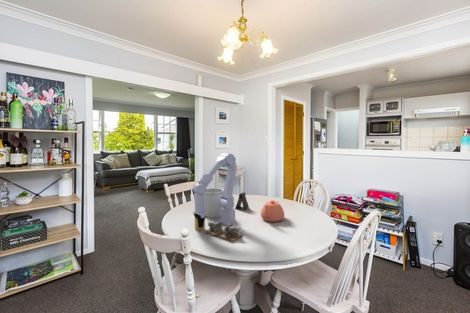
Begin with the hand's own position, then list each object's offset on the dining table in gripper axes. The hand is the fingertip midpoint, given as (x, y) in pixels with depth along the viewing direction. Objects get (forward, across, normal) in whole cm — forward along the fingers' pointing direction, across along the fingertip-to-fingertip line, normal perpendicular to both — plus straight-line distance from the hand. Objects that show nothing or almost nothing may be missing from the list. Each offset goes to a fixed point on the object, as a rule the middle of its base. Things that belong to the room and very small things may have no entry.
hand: (199, 226), depth 138 cm
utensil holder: (+2, -21, +16) cm, 26 cm away
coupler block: (+1, 0, 0) cm, 1 cm away
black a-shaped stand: (+2, -24, +40) cm, 47 cm away
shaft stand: (+1, +14, +9) cm, 17 cm away
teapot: (+2, +5, +48) cm, 48 cm away
